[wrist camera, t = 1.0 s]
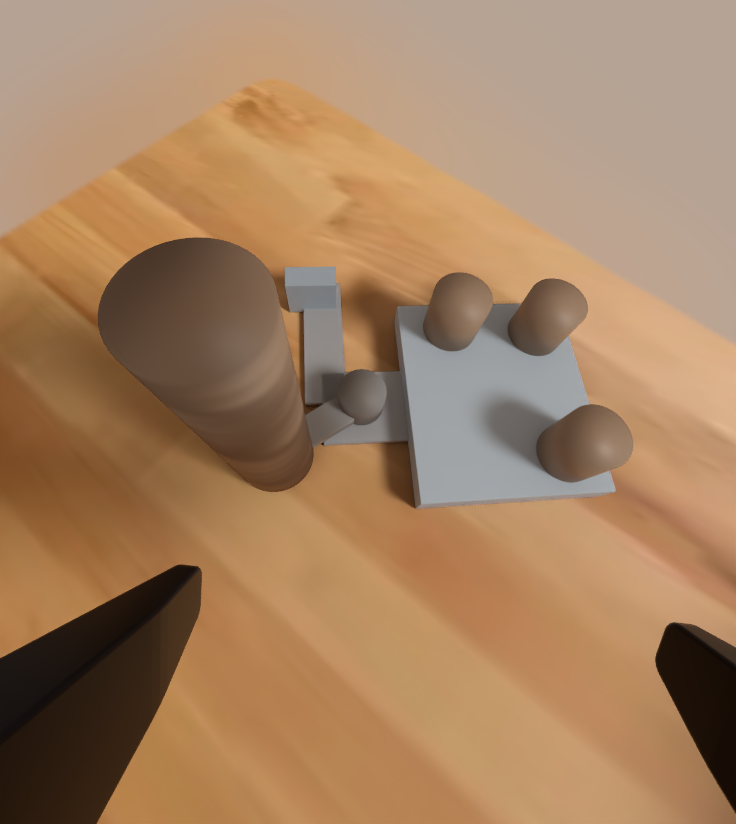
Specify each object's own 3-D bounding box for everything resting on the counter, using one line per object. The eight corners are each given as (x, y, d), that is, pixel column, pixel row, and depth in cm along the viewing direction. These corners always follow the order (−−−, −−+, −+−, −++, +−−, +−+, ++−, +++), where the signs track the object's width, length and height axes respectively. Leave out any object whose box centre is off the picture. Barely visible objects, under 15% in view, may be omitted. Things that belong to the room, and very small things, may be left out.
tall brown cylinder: (360, 367, 23) (381, 154, 11) (399, 419, 22) (467, 245, 10) (224, 444, 21) (71, 279, 9) (261, 507, 20) (141, 414, 8)
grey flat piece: (597, 496, 22) (659, 479, 18) (289, 517, 21) (276, 503, 16) (536, 283, 27) (572, 230, 23) (290, 287, 26) (280, 231, 22)
